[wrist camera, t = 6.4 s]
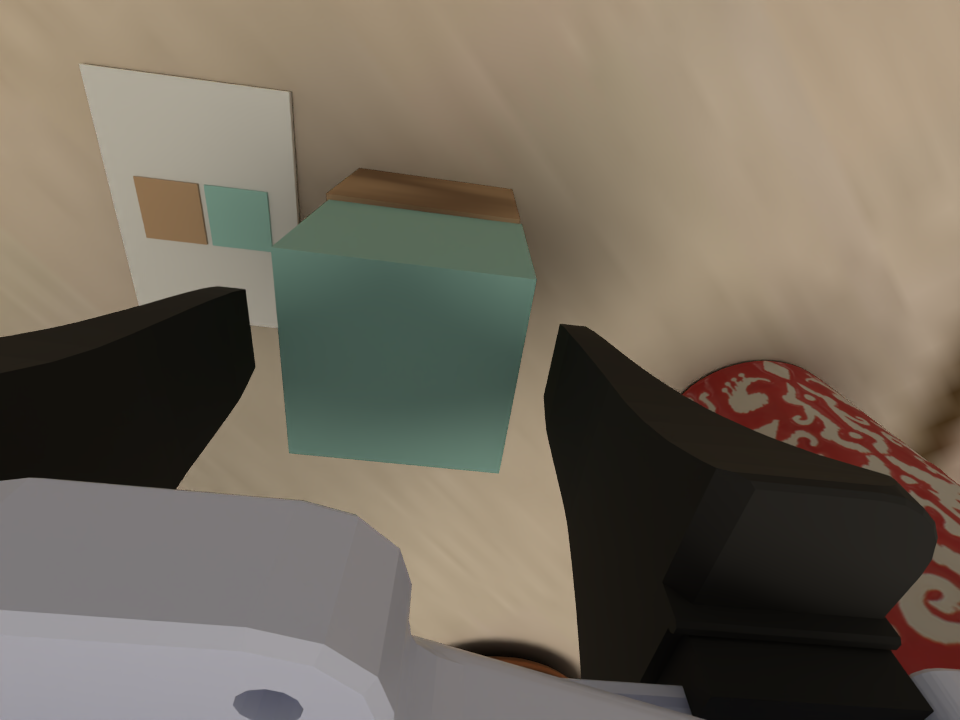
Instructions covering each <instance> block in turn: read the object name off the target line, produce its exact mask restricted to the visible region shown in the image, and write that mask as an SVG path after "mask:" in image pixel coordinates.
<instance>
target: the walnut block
mask: <svg viewBox="0 0 960 720" xmlns="http://www.w3.org/2000/svg"><path fill="white" fill-rule="evenodd" d="M328 200H336V201H344V202H352V203H360V204H367V205H375V206H383V207H391V208H399V209H406V210H414V211H422V212H430V213H438V214H445V215H453V216H461V217H469V218H477V219H484V220H492V221H500V222H508V223H516V224H520V217H519V213H518V209H517V206H516V202H515V198H514V194H513V190H512V189H507V188H500V187H492V186H485V185H478V184H471V183H464V182H456V181H449V180H442V179H435V178H428V177H420V176H413V175H406V174H399V173H392V172H384V171H377V170H370V169H363V168H359V169H358V170H356V171H355V172H354V173H352V174H351V175H350V176H349V177H347V178H346V179H345V180H343V181H342V182H341V183H339V184H338V185H337V186H336V187H334V188H333V189H332V190H330V191H329V192H328V193H326V201H328Z"/></svg>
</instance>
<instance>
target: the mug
mask: <svg viewBox="0 0 960 720" xmlns="http://www.w3.org/2000/svg"><path fill="white" fill-rule="evenodd" d="M682 395H684V396H685V397H687V398H689V399H691V400H693V401H694V402H696V403H698V404H700V405H702V406H703V407H705V408H707V409H709V410H711V411H713V412H715V413H717V414H719V415H721V416H723V417H725V418H727V419H730V420H732V421H734V422H736V423H739V424H741V425H743V426H745V427H747V428H750V429H752V430H754V431H757V432H759V433H762V434H764V435H766V436H769V437H771V438H774V439H776V440H779V441H782V442H785V443H787V444H790V445H793V446H796V447H799V448H801V449H804V450H807V451H810V452H812V453H815V454H818V455H821V456H825V457H828V458H832V459H835V460H838V461H842V462H845V463H849V464H852V465H855V466H859V467H862V468H865V469H869V470H872V471H876V472H879V473H882V474H886V475H889V476H891V477H892V478H894V479H895V480H896V481H897V482H898V483H899V484H900V485H901V486H902V487H903V488H904V489H905V490H906V491H907V492H908V493H909V494H910V495H911V496H912V497H913V498H914V499H915V500H916V501H917V502H918V503H919V504H920V505H921V506H923V507H924V509H925V510H926V511H927V512H928V514H929V515H930V516H931V517H932V519H933V520H934V521H935V524H936V530H937V535H938V540H937V543H936V547H935V551H934V554H933V558H932V560H931V562H930V563H929V565H928V566H927V568H926V569H925V571H924V572H923V574H922V575H921V576H920V578H919V579H918V580H917V581H916V582H915V583H914V584H913V585H912V587H911V588H910V589H909V590H908V591H907V592H906V593H905V595H904V596H903V597H902V598H901V599H900V600H899V601H898V602H897V604H896V605H895V606H894V607H893V608H892V609H891V610H890V611H889V613H888V614H887V615H886V616H885V617H886V618H887V620H888V621H889V622H890V624H891V625H892V626H893V628H894V629H895V631H896V632H897V633H898V635H899V636H900V637H901V644H902V645H901V646H900V647H899V648H898V649H897V650H891V651H892V653H893V654H894V656H895V657H896V658H897V660H898V661H899V663H900V664H901V665H902V667H903V668H904V670H905V671H906V672H907V674H908V675H910V674H911V673H914V672H917V671H920V670H924V669H932V668H945V669H959V670H960V485H958V484H957V483H956V482H955V481H953V480H952V479H951V478H949V477H948V476H947V475H946V474H945V473H944V472H943V471H942V470H940V469H939V468H938V467H936V466H935V465H933V464H932V463H930V462H928V461H927V460H925V459H924V458H923V457H921V456H920V455H919V454H918V453H916V452H915V451H914V450H912V449H911V448H910V447H908V446H907V445H906V444H905V443H903V442H902V441H901V440H899V439H898V438H897V437H895V436H894V435H892V434H891V433H890V432H888V431H887V430H886V429H884V428H883V427H882V426H881V425H879V424H878V423H876V422H875V421H874V420H873V419H871V418H870V417H869V416H867V415H866V414H865V413H863V412H862V411H861V410H859V409H858V408H857V407H855V406H854V405H853V404H852V403H850V402H849V401H848V400H846V399H845V398H844V397H843V396H841V395H840V394H839V393H838V392H836V391H835V390H834V389H832V388H831V387H830V386H828V385H827V384H826V383H824V382H823V381H822V380H820V379H819V378H817V377H816V376H814V375H813V374H811V373H810V372H808V371H806V370H804V369H802V368H800V367H797V366H794V365H791V364H787V363H782V362H774V361H753V362H746V363H741V364H737V365H733V366H730V367H727V368H723V369H721V370H719V371H717V372H714V373H712V374H710V375H708V376H707V377H705V378H703V379H701V380H699V381H698V382H697V383H695V384H694V385H692V386H691V387H690V388H689V389H688V390H687V391H685V392H684V393H683V394H682Z"/></svg>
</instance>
